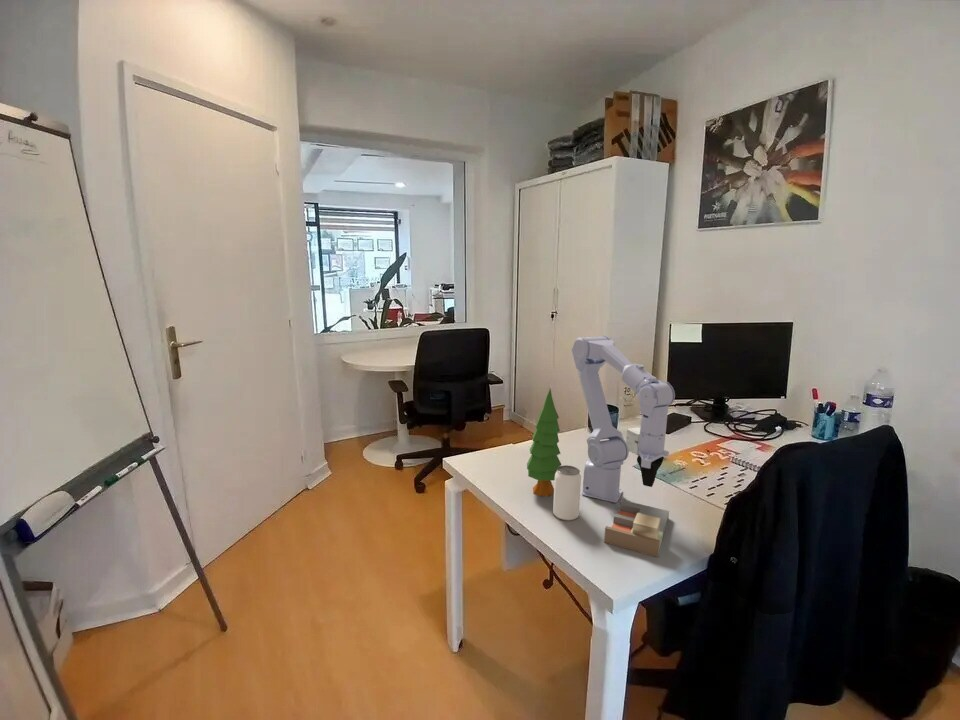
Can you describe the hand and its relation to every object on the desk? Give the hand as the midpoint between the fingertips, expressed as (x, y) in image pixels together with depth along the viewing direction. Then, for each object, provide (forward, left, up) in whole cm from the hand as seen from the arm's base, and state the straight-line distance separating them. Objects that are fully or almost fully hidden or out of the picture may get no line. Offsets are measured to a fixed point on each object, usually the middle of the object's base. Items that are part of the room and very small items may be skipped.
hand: (648, 485), depth 115 cm
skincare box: (-10, +47, -10) cm, 49 cm away
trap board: (-1, -5, -9) cm, 11 cm away
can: (-18, -7, -10) cm, 22 cm away
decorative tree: (-28, +2, -10) cm, 30 cm away
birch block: (+2, -11, -7) cm, 13 cm away
